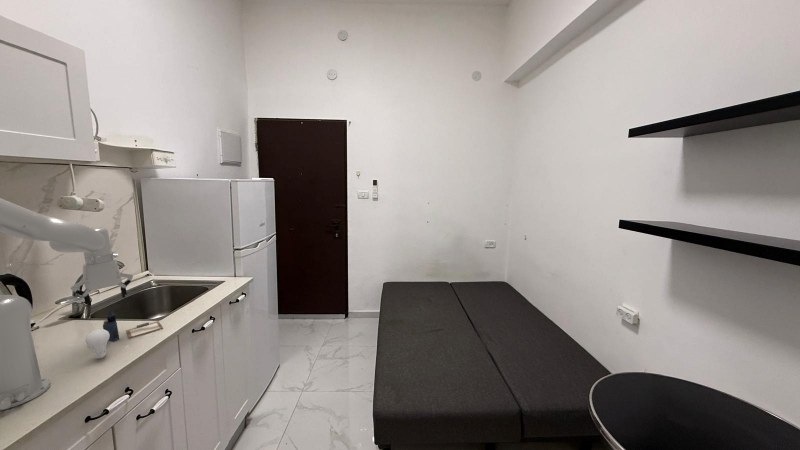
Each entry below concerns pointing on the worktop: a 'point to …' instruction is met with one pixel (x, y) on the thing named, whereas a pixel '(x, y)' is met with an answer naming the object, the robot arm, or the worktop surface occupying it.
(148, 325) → the clipboard
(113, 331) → the vaping device
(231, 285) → the worktop surface
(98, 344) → the lightbulb
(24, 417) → the worktop surface
